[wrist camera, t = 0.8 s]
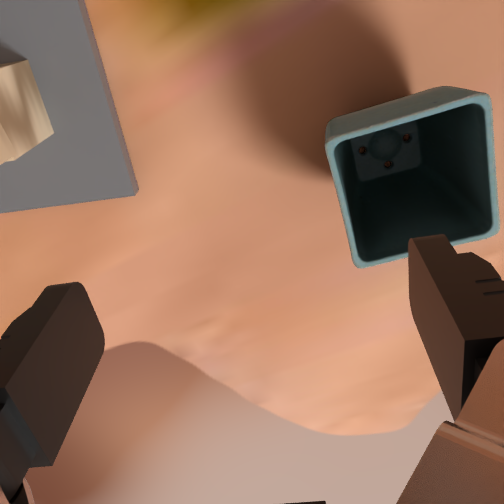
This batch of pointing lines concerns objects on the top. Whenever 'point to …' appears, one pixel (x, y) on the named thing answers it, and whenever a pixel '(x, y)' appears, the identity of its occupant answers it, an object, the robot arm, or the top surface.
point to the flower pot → (415, 172)
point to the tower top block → (5, 147)
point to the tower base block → (22, 108)
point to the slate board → (64, 110)
